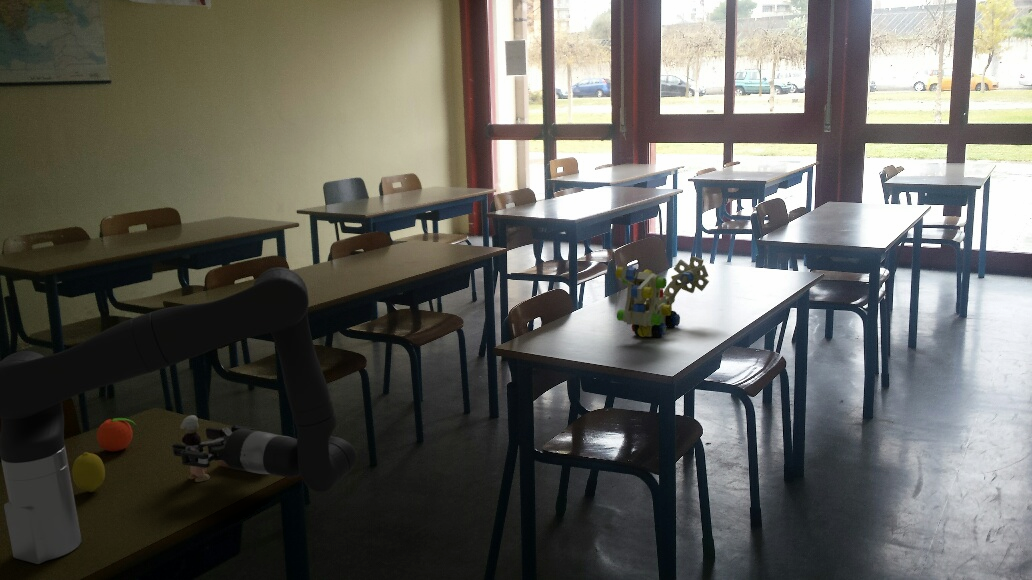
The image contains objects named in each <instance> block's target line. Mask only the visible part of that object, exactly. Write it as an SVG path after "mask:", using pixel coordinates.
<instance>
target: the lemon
mask: <svg viewBox="0 0 1032 580" xmlns="http://www.w3.org/2000/svg"><path fill="white" fill-rule="evenodd" d="M71 469H72V472H71V474H72V479H73V482H74V485H76V486H77V488H79V489H80V490H83V491H88V492H90V493H94V492H95V490H96V489H98V488H99V487H100V486H101V485H102V484H103V482H104V480H105V478H106V468H105V465H104V462H103V460H102V459H101V458H100V456H98V455H97V454H94V453H90V452H88V451H86V452H83V453H82V454H81V455H79V456H77V458H76V459H75V460H74V462H73V465H72V468H71Z"/></svg>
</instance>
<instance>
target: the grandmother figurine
mask: <svg viewBox="0 0 1032 580" xmlns="http://www.w3.org/2000/svg"><path fill="white" fill-rule="evenodd" d="M198 421H199V419H198V417H197V416H196V415H193V414H191V415H188V416H186V417H184V419H183V420H182V423H181V424H180V426H179V427H180V429H181V430H184V431H185V432H186V433H185V434H184V435H183V437H182V438H181V444H184V445H189V446H193V445H199V443H200V442H202V440H201V438H202V437H201V436H200V435H199V434H198V433H197V432H198V431H199V430H200V429H199V428H200V425H199V423H198ZM193 451H197V452H199V450H193ZM189 467H190V468H189V469H190V470H189V471H190V475H189V476H188V479H190V480H194V481H195V483H199V482H205V481H209V480H210V479H211V476H210V475H209V474H208V473H207V472H208V469H207V468H208V467H207V468H202V467H196V466H189Z"/></svg>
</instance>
